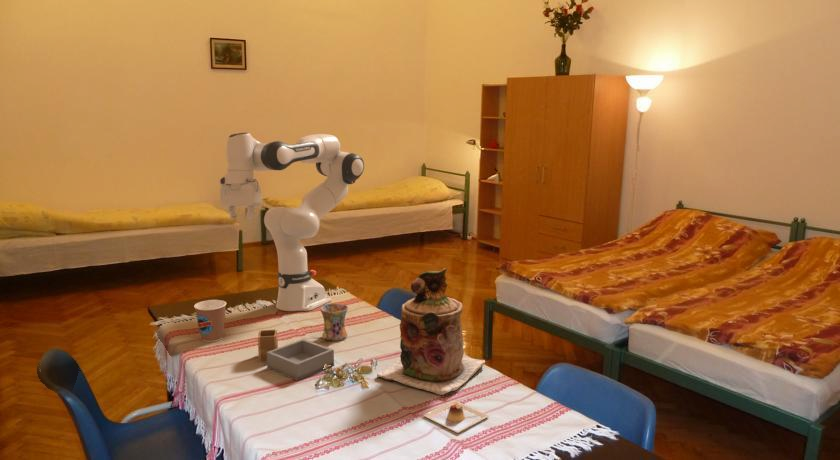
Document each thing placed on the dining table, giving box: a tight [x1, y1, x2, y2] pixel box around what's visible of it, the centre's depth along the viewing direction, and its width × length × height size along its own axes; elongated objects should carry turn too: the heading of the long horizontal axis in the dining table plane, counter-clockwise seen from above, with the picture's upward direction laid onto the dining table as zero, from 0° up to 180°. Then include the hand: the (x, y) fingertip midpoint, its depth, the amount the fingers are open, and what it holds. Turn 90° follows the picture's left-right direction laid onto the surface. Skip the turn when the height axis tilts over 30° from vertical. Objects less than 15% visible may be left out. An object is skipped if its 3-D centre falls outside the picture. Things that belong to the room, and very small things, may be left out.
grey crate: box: [266, 338, 335, 382], centre depth 182 cm, size 14×14×5 cm
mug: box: [319, 303, 349, 342], centre depth 206 cm, size 12×9×11 cm
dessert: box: [422, 399, 490, 434], centre depth 152 cm, size 12×12×5 cm
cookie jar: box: [376, 267, 486, 396], centre depth 176 cm, size 25×25×32 cm
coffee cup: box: [193, 299, 227, 343], centre depth 204 cm, size 10×10×12 cm
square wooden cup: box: [257, 329, 279, 363], centre depth 188 cm, size 6×6×8 cm
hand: (241, 219), depth 211 cm, fingers open, 8 cm apart
